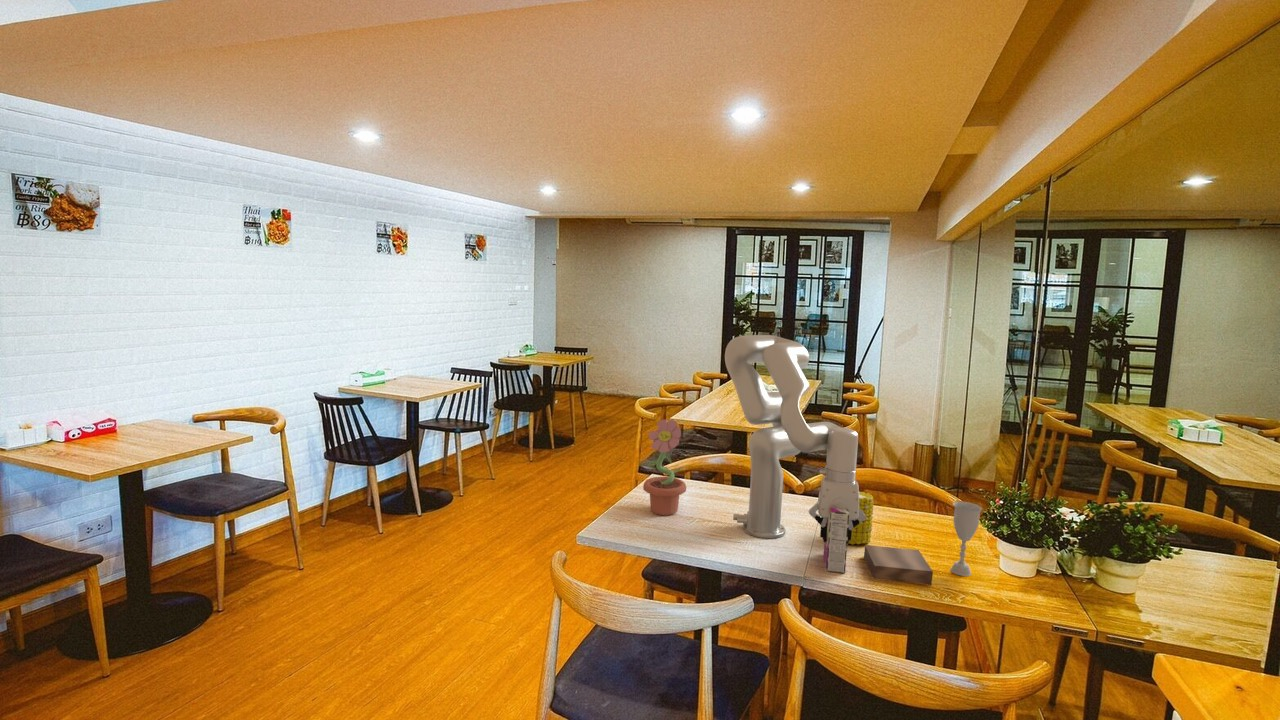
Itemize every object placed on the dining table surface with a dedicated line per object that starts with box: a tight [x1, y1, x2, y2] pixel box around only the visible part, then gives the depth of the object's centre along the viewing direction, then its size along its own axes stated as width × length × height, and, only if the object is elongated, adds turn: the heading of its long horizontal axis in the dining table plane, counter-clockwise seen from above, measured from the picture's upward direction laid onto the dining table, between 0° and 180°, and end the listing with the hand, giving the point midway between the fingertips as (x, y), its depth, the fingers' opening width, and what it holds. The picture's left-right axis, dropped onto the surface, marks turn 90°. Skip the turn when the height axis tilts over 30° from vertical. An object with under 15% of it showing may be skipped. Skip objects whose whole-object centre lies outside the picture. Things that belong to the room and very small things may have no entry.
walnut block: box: [863, 544, 934, 586], centre depth 164 cm, size 14×13×4 cm
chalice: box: [950, 501, 983, 577], centre depth 164 cm, size 7×7×18 cm
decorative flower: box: [642, 419, 687, 516], centre depth 200 cm, size 15×14×30 cm
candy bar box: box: [823, 508, 849, 574], centre depth 166 cm, size 11×5×16 cm, turn 168°
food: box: [847, 491, 874, 546], centre depth 183 cm, size 15×12×10 cm
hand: (835, 540), depth 166 cm, fingers closed on candy bar box, 5 cm apart
